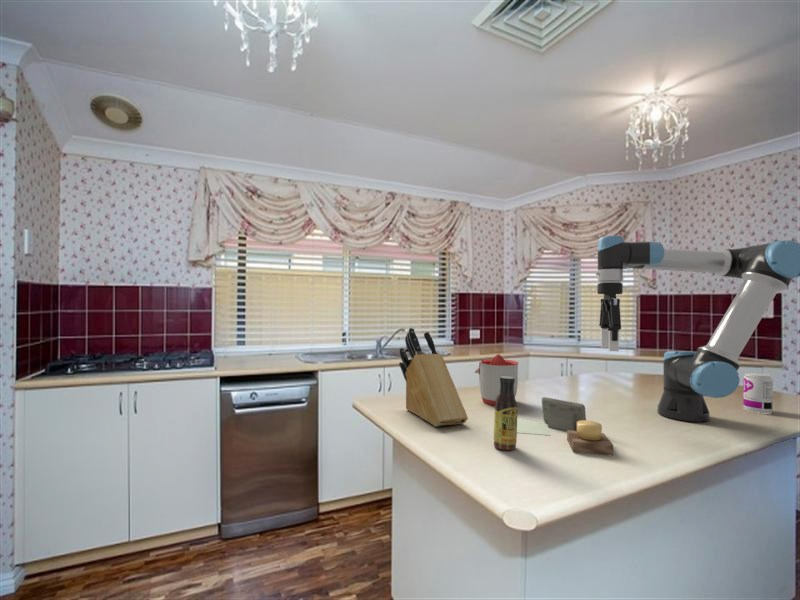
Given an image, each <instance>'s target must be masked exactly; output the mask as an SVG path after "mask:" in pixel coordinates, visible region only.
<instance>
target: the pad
mask: <svg viewBox="0 0 800 600" xmlns="http://www.w3.org/2000/svg"><path fill="white" fill-rule="evenodd" d="M548 428H549V427H548V425H547V423H546V422H540V421H534V420H529V419H524V418H520V417H517V434H524V435H538V436H548V437H549V436H550V437H551V434H550V431H549V429H548Z"/></svg>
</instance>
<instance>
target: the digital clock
mask: <svg viewBox="0 0 800 600" xmlns="http://www.w3.org/2000/svg"><path fill="white" fill-rule="evenodd" d="M541 406H542V407H541V408H542V417H543V421H544V423H546V424H547V428H552V429H555V430H560V431H565V432H567V430H571V431H576V430H577V421H581V420H587V417H586V406H585V404H583V403H579V402H574V401H568V400H564V399H563V400H562V399H558V398H553V397H552V398H551V397H546V396H544V397H541Z"/></svg>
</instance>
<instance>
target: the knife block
mask: <svg viewBox="0 0 800 600" xmlns="http://www.w3.org/2000/svg"><path fill="white" fill-rule="evenodd" d="M423 336H424V339H425V341H426V343H427V346H428V348H429V350H430V351H431V353H429V354H428V353H425V352H423V351H422V348H421V345H420V341H419V339H418V337H417V334H416V331H415V328H413V327H409V329H408V332H407V333H406V335H405V337H404V342H405V345H406V349H404V348H403V347H400V348H399V353H398V354H399V357H400V359H401V361H402V362H399V363H398V365H399V368H400V370H401V373H402V375H403V378H404V380H405V409H406V410H407V411H409V412H411V413H413V414H415V415H417V416H418V417H420V418H421V419H423V420H424V421H426V422H428V423H430V424H431V425H432V426H433V427H441V426H449V425H450V426H451V425H461V424H465V423H466V422H467V421H468V419H469V416H468V415H467V412H466V409H465V407H464V404H463V403H462V400H461V398H460V395H459V392H458V390H457V388H456V385H455V383H454V381H453V378H452V376H451V374H450V371H449V369H448V366H447V365H446V361H445V359H444V357H443V354H442V353H438V352H437V350H436V346H435V343H434V342H435V341H434V340H433V338H432V336H431V334H430V332H428V331H426V332H424V334H423ZM406 353H409V355H410V357H411V358H410V359H409V357H408V356H407V354H406Z"/></svg>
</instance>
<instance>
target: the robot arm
mask: <svg viewBox="0 0 800 600" xmlns="http://www.w3.org/2000/svg"><path fill="white" fill-rule="evenodd" d="M596 251H597V272H596V273H595V275H596V276H597V282H598V283H597V288H596V289H597V295H603V298H600V314H599V325H598V326H599V327H600V347H601V348H604V349H605V348H608V352H619V351H620V350H619V349H620V347H619V346H620V345H619V344H620V343H619V342H620V341H619V340H620V339H619V337H620V334H619V333H620V330H622V322H621V321H622V320H621V308H620V304H621V303H620V302H621V299H620V298H617V295H622V294H623V290H624V289H623V288H624V286H623V285H624V284H623V283H622V282H623V281H624V270H626V269H639V270H640V269H641V270H642V269H643V270H657V271H673V272H675V271H676V272H691V273H692V272H693V273H706V274H707V273H708V274H709V273H710V274H715V275H716V276H718V277H723V278H724V277H727V278H734V279H735V278H736V279H742V280H743V283H742V285H741V287H740V288H739V290H738V291H737V293H736V295H735V296H734V298H733V300H732V302H731V303H730V305H729V307H728V308H727V310H726V312H725V313H724V315H723V317H722V318H721V320H720V321H719V323H718V325H717V327H716V328H715V330H714V332H713V334H712V335H711V337H710V338H709V341H708V342H707V344H706V345H703V346H699V347H698V348H697V349H696V351H689V350H688V351H684V350H683V351H681V350H680V351H679V350H675V351H673V350H671V351H668V350H667V351H665V352H664V353H663V354H664V355H663V360H662V362H663V392H662V395H661V398H660V400H659V402H658V405H657V413H658V415H661V416H663V417H666V418H670V419H674V420H679V421H687V422H698V423H699V422H708V421H710V416H711V415H710V410H709V409H708V406H707V405H708V404H707V403H706V400H705V397H708V398H713V399H714V398H715V399H719V398H720V399H721V398H725V397H728V396H730V395H732V394H733V393H735V391H736V390H737V389H738V387H739V385H740V380H741V379H740V376H739V372H738V370H739V369H740V367H741V363H740V361H739V359H738V358H739V357H740V355H741V353H742V352H743V350H744V348H745V347H746V345H747V343H748V342H749V340H750V338H751V336H752V335H753V333H754V332H755V330H756V328H757V326H758V325H759V323H760V322H761V320H762V319H763V316H764V315H765V313H766V311H767V310H768V308H769V307H770V305H771V303H772V301H773V300H774V299H775V296H776V295H777V293H778V292H782V291H785V290H787V289H788V288H789V286H790V284H791V282H792V280H793V279H796V278H799V277H800V242H797V241H796V240H795V241H794V240H787V239H786V240H774V241H772V242H767V243H763V244H757V245H751V246H747V247H741V248H722V249H720V250H719V251H713V250H712V251H711V250H694V249H693V250H692V249H691V250H689V249H688V250H687V249H672V248H670V249H669V248H665V247H664V245H663V244H662V243H661V242H658V241H637V242H635V241H631V242H630V241H629V242H627V241H624V238H623V236H621V235H604V236H602V237H600V238H599V239H598V243H597V250H596Z"/></svg>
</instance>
